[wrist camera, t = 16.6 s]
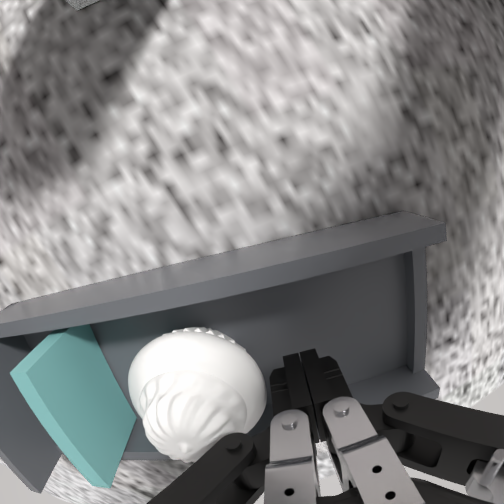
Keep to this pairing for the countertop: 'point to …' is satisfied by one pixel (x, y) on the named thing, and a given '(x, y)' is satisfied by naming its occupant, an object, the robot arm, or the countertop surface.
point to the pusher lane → (244, 320)
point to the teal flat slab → (78, 401)
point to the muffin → (195, 391)
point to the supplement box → (80, 3)
